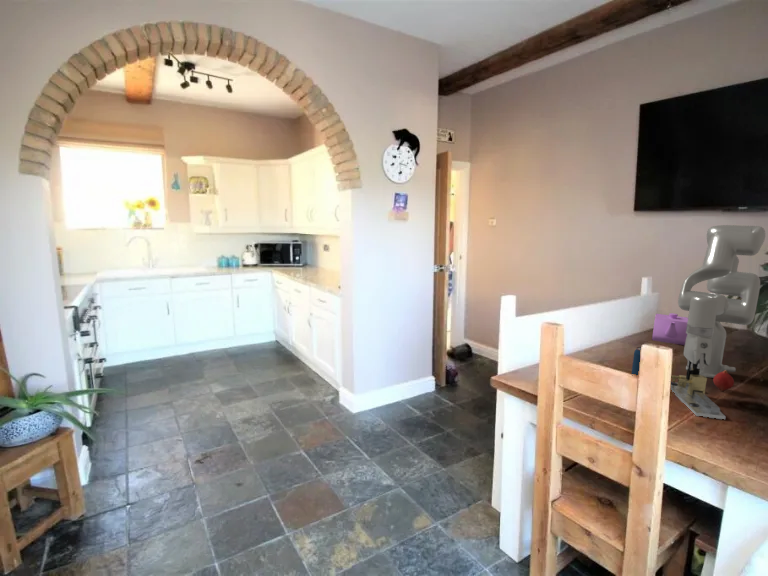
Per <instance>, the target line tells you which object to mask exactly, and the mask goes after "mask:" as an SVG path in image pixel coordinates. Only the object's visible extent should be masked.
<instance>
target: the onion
mask: <svg viewBox="0 0 768 576" xmlns="http://www.w3.org/2000/svg"><path fill="white" fill-rule="evenodd" d="M712 381H713V385H715V386H716V388H718V390H720V391H721V392H725V391H727V390H729V389H731V388H733V387H734V385H735V380H734V377H733V376H732V375H731V374H729V373H728V371H726V370H724V371H723V372H720V373H718V374H717V375H715V376H714V378H713V379H712Z"/></svg>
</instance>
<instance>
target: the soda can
mask: <svg viewBox="0 0 768 576" xmlns="http://www.w3.org/2000/svg"><path fill="white" fill-rule="evenodd" d="M641 347H642V346H637V347H636V349H635V350H634V353H633V359H632V368H631V375H632V374H636V375H638V371H639V362H640V350H641Z"/></svg>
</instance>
